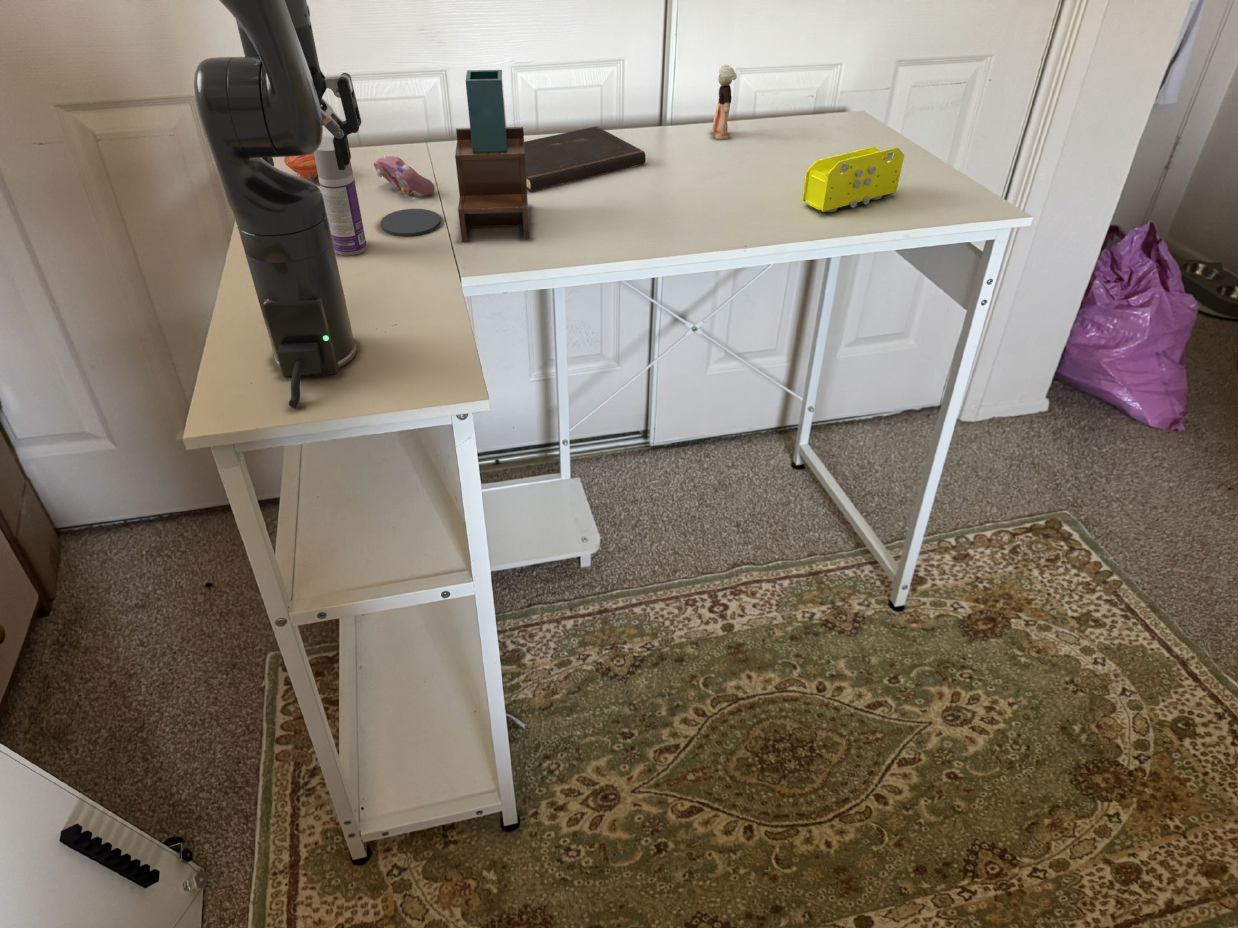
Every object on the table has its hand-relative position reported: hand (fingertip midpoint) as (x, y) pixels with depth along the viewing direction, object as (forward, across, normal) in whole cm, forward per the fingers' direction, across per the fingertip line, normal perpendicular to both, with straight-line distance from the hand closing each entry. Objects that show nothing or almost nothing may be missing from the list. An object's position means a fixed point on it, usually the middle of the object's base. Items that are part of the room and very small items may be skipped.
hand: (306, 168), depth 103 cm
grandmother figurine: (+18, +63, +58) cm, 87 cm away
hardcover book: (+18, +33, +46) cm, 59 cm away
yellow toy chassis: (+18, +78, +26) cm, 84 cm away
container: (+18, 0, +15) cm, 23 cm away
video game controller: (+18, +6, +36) cm, 41 cm away
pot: (+18, -10, +43) cm, 48 cm away
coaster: (+18, +8, +23) cm, 30 cm away
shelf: (+18, +21, +22) cm, 35 cm away
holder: (+6, +21, +24) cm, 33 cm away
